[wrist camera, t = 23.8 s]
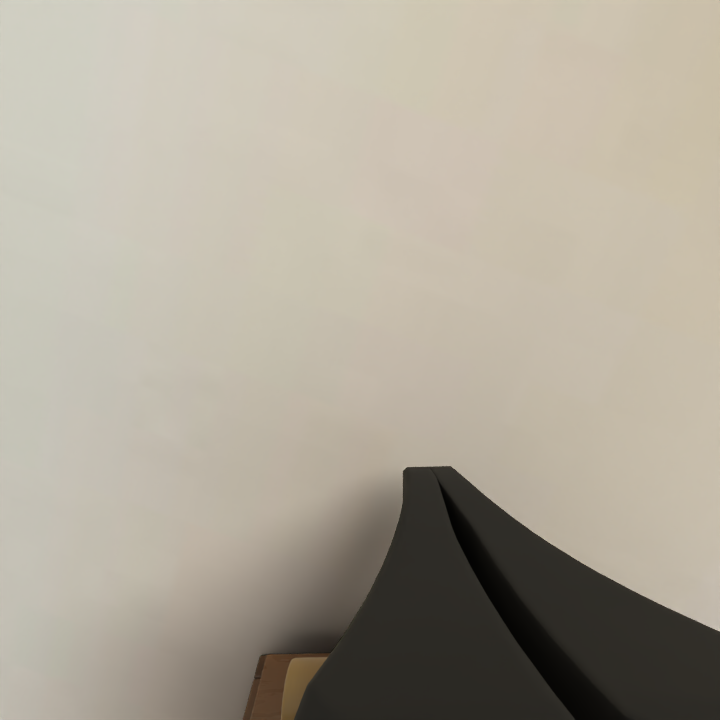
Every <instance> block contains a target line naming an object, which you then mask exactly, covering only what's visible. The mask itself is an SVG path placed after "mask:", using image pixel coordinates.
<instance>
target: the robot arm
mask: <svg viewBox="0 0 720 720" xmlns="http://www.w3.org/2000/svg"><path fill="white" fill-rule="evenodd" d="M294 720H720V632H719V631H717V630H715V629H712V628H710V627H708V626H706V625H703V624H701V623H699V622H697V621H695V620H693V619H690V618H688V617H686V616H684V615H682V614H679V613H677V612H675V611H673V610H671V609H668V608H666V607H664V606H662V605H660V604H658V603H656V602H654V601H652V600H650V599H648V598H646V597H644V596H642V595H640V594H638V593H636V592H634V591H632V590H630V589H628V588H626V587H624V586H622V585H621V584H619V583H617V582H615V581H613V580H611V579H609V578H607V577H606V576H604V575H602V574H600V573H598V572H596V571H595V570H593V569H591V568H589V567H588V566H586V565H584V564H582V563H581V562H579V561H577V560H576V559H574V558H572V557H571V556H569V555H568V554H566V553H564V552H563V551H561V550H559V549H558V548H556V547H555V546H553V545H551V544H550V543H548V542H547V541H545V540H544V539H542V538H541V537H539V536H538V535H536V534H535V533H533V532H532V531H531V530H529V529H528V528H527V527H525V526H524V525H522V524H521V523H520V522H518V521H517V520H515V519H514V518H513V517H511V516H510V515H509V514H508V513H506V512H505V511H504V510H502V509H501V508H500V507H499V506H497V505H496V504H495V503H494V502H492V501H491V500H490V499H489V498H487V497H486V496H485V495H484V494H483V493H481V492H480V491H479V490H478V489H477V488H476V487H474V486H473V485H472V484H471V483H470V482H469V481H467V480H466V479H465V478H464V477H463V476H462V475H460V474H459V473H458V472H457V471H456V470H455V469H453V468H452V467H451V466H442V467H407V468H406V469H405V470H404V471H403V504H402V510H401V514H400V518H399V521H398V524H397V528H396V531H395V534H394V537H393V540H392V543H391V546H390V548H389V551H388V553H387V556H386V558H385V561H384V563H383V565H382V567H381V569H380V571H379V574H378V576H377V578H376V580H375V582H374V584H373V586H372V588H371V590H370V592H369V594H368V595H367V597H366V599H365V601H364V602H363V604H362V606H361V607H360V609H359V611H358V612H357V614H356V616H355V617H354V619H353V620H352V622H351V624H350V625H349V627H348V629H347V630H346V632H345V633H344V635H343V636H342V638H341V639H340V641H339V642H338V644H337V645H336V647H335V648H334V649H333V651H332V652H331V653H330V655H329V656H328V658H327V659H326V660H325V662H324V663H323V664H322V666H321V667H320V668H319V670H318V671H317V673H316V674H315V675H314V677H313V678H312V679H311V681H310V682H309V683H308V685H307V686H306V689H305V692H304V694H303V697H302V699H301V702H300V705H299V707H298V710H297V713H296V715H295V718H294Z"/></svg>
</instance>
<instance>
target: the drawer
mask: <svg viewBox="0 0 720 720" xmlns="http://www.w3.org/2000/svg"><path fill="white" fill-rule="evenodd" d="M329 655H330V653H311V654H268V655H267V656H266V659H265V663H264V667H263V671H262V675H261V679H260V683H259V687H258V691H257V695H256V698H255V702H254V706H253V710H252V714H251V718H250V720H294V718H295V715H296V713H297V710H298V707H299V705H300V702H301V699H302V697H303V694H304V692H305V689H306V686H307V685H308V683H309V682H310V681H311V679H312V678H313V677H314V675H315V674H316V673H317V671H318V670H319V668H320V667H321V666H322V664H323V663H324V662H325V660H326V659H327V658H328V656H329Z"/></svg>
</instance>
